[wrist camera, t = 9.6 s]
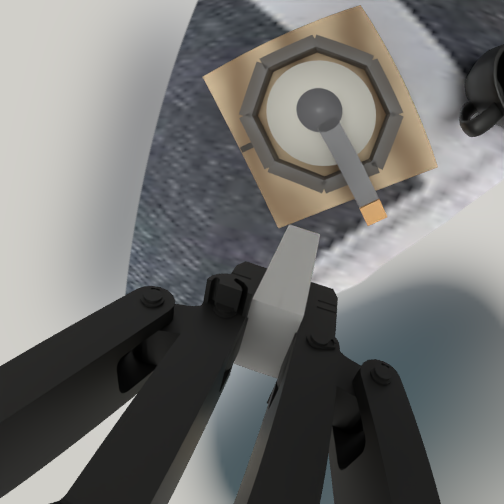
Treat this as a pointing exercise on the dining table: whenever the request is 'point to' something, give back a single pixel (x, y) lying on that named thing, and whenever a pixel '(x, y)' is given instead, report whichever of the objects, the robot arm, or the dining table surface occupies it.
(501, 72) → the mug
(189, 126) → the dining table surface
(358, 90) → the dial
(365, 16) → the dial board
